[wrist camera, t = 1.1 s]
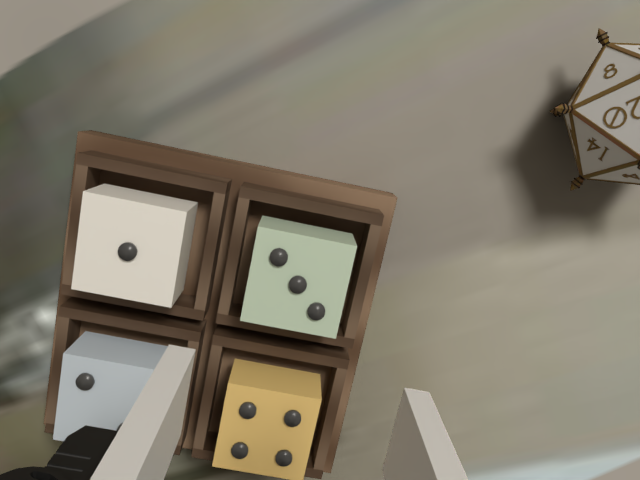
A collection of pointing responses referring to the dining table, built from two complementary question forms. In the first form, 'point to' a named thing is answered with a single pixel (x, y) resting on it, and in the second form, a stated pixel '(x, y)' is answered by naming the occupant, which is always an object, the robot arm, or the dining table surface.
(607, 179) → the game die
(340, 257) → the button three
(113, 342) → the button two
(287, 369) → the button four
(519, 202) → the dining table surface
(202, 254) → the wooden compartment tray
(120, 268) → the button one
